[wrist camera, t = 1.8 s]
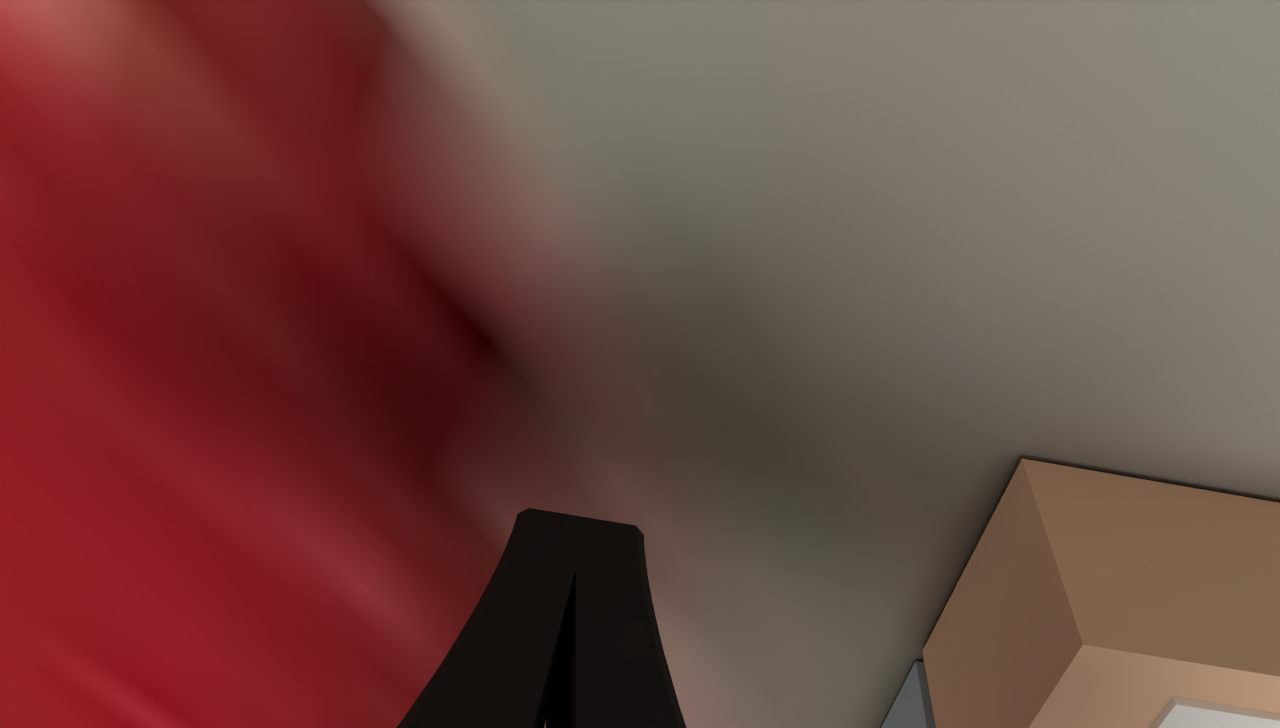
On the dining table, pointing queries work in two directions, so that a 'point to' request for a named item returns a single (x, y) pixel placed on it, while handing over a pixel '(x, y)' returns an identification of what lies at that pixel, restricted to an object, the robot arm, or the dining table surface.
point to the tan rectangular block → (1113, 609)
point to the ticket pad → (912, 702)
